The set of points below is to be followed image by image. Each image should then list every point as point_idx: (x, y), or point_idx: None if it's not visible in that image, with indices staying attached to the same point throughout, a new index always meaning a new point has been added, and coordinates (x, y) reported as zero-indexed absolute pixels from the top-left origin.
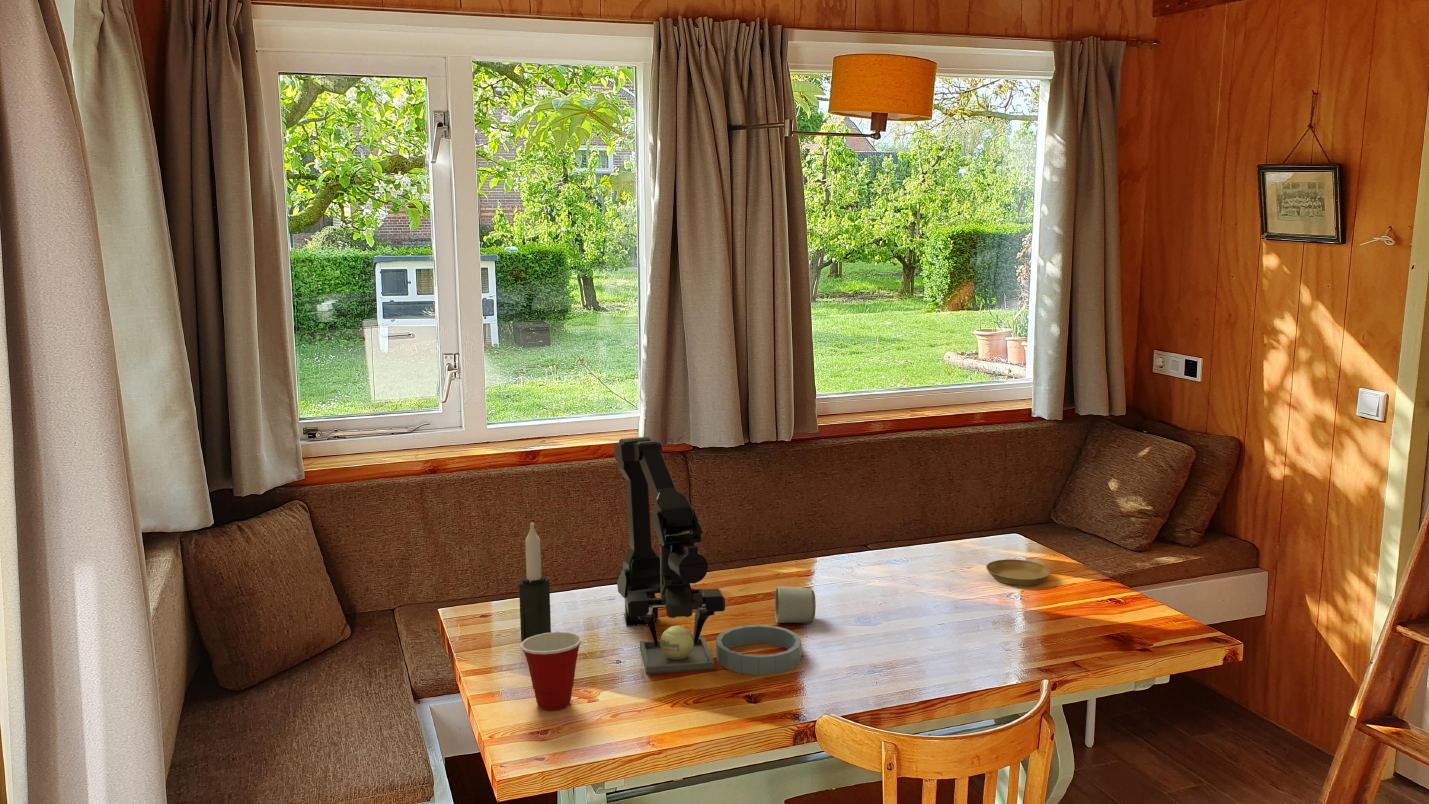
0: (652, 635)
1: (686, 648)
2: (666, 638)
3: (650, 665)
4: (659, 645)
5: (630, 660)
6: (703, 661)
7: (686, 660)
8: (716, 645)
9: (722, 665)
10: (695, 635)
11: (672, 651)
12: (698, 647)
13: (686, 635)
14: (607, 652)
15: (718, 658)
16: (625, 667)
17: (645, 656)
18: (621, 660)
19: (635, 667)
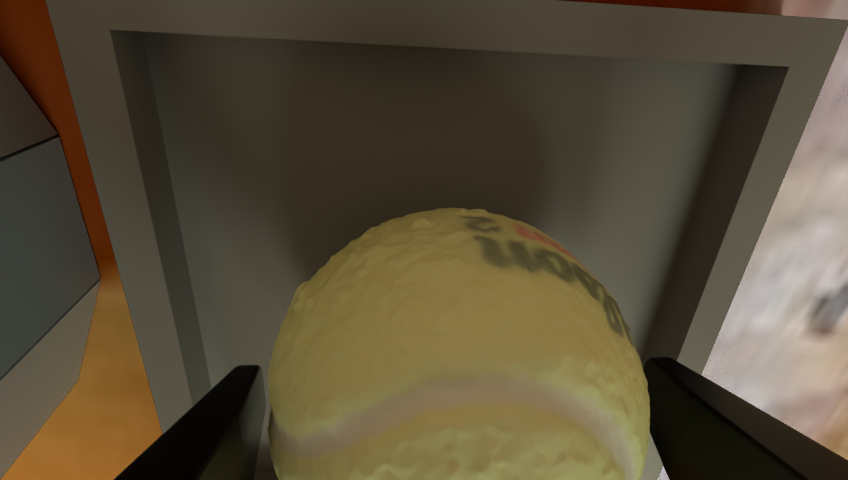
0: (807, 440)
1: (375, 240)
2: (636, 380)
3: (788, 56)
4: None
5: (752, 315)
6: (209, 171)
7: (369, 220)
8: (4, 319)
9: (1, 63)
10: (223, 433)
11: (536, 232)
12: None
13: (360, 399)
14: (814, 431)
15: (26, 153)
16: (845, 209)
17: (727, 274)
18: (804, 323)
19: (781, 195)
